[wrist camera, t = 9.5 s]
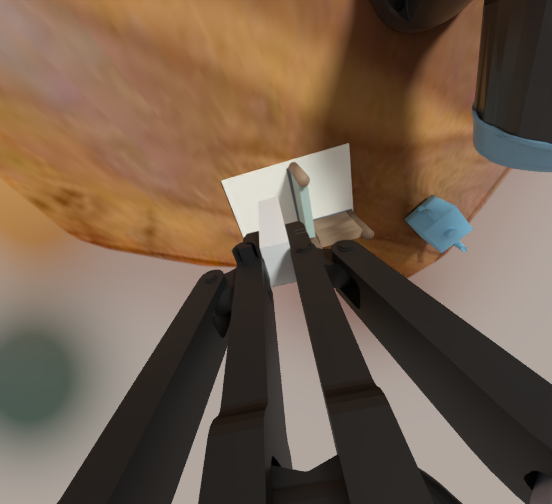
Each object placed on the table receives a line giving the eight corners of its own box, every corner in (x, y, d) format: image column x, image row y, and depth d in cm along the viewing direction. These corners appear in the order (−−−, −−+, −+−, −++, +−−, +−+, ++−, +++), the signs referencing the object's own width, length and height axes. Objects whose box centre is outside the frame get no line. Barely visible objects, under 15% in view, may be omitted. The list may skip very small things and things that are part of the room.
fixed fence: (352, 206, 40) (374, 227, 33) (353, 218, 41) (374, 241, 34) (296, 222, 41) (306, 246, 33) (298, 233, 42) (308, 258, 35)
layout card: (348, 142, 34) (349, 143, 34) (353, 225, 43) (354, 226, 42) (221, 180, 36) (221, 181, 35) (250, 253, 44) (250, 255, 43)
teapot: (453, 223, 45) (486, 242, 38) (427, 244, 47) (454, 265, 41) (424, 188, 40) (456, 202, 34) (396, 213, 42) (422, 231, 36)
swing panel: (307, 218, 40) (318, 239, 33) (298, 220, 40) (308, 242, 33) (297, 160, 34) (308, 172, 28) (287, 163, 34) (296, 176, 28)
